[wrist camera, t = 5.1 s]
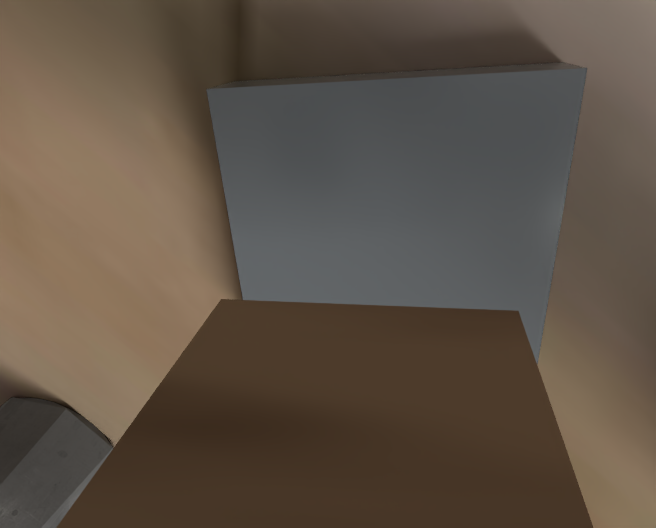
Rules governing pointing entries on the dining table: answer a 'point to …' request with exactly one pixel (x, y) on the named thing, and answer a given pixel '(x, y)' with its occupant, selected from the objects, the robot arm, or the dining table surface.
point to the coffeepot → (44, 461)
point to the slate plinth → (401, 185)
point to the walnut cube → (342, 427)
